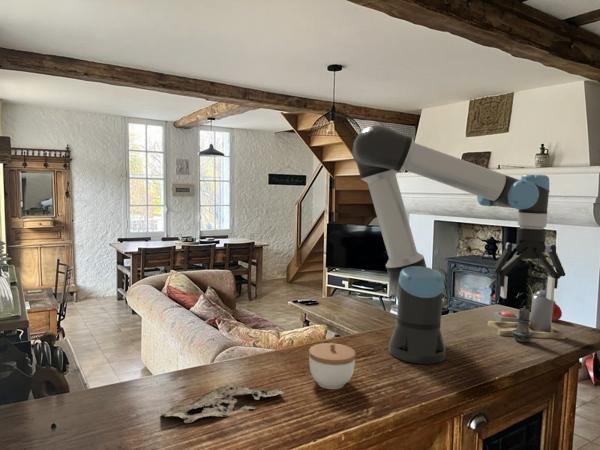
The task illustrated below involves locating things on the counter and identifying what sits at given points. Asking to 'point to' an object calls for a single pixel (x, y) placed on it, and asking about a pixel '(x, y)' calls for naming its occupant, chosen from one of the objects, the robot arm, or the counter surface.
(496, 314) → the grey-green square box
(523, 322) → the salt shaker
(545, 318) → the pepper pot
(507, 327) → the tray
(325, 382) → the lidded jar
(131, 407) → the counter surface
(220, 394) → the driftwood
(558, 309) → the onion
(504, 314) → the button
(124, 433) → the counter surface
